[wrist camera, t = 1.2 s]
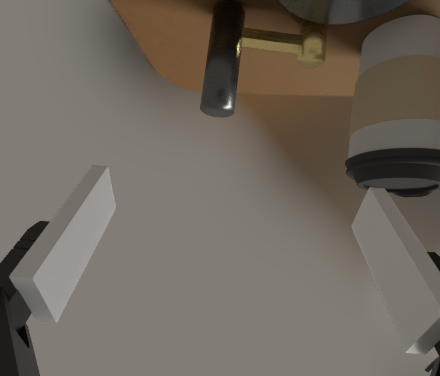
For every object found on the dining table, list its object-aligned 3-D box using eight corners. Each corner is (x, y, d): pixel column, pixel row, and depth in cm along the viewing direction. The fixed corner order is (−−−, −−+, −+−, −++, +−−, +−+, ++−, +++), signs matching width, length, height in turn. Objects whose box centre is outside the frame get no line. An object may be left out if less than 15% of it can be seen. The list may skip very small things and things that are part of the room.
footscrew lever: (333, 13, 26) (327, 116, 24) (320, 35, 29) (314, 129, 27) (213, -4, 26) (199, 100, 24) (213, 21, 29) (200, 115, 27)
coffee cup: (332, 40, 30) (324, 184, 27) (438, -16, 22) (440, 174, 20) (376, 76, 35) (372, 200, 32) (474, 40, 27) (479, 197, 25)
